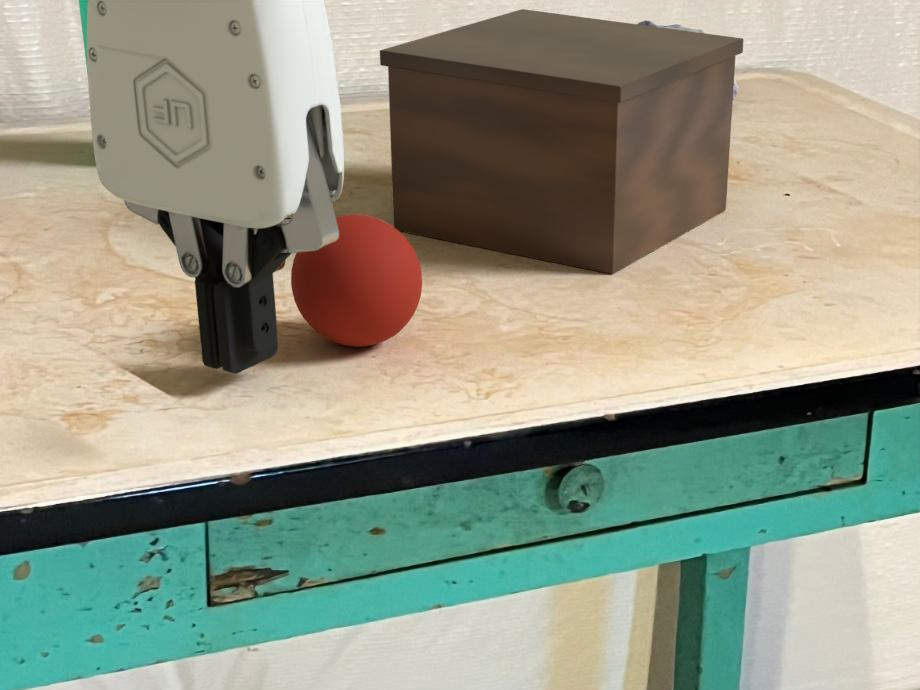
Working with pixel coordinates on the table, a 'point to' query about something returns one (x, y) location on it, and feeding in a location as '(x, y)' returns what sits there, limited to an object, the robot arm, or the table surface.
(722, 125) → the box
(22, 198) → the table surface
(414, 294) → the ball
